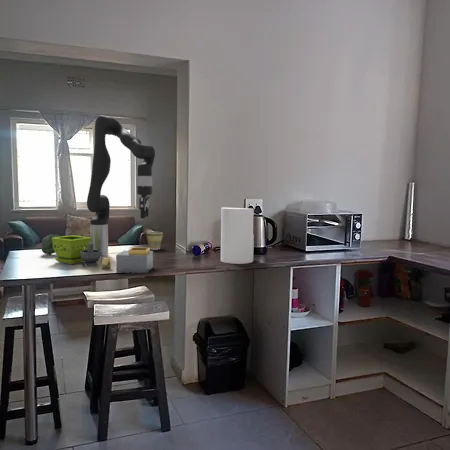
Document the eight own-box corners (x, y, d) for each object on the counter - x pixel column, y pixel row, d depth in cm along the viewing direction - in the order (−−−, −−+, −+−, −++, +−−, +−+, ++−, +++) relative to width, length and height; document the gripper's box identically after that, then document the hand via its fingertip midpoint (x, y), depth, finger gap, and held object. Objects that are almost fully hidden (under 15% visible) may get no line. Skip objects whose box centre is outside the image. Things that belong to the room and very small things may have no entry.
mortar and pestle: (80, 263, 222) (80, 239, 221) (99, 262, 225) (99, 239, 224) (80, 268, 211) (80, 243, 210) (101, 267, 214) (101, 242, 213)
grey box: (116, 272, 203) (116, 250, 202) (124, 266, 216) (124, 246, 215) (146, 273, 202) (146, 251, 201) (152, 267, 215) (152, 247, 214)
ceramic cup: (155, 250, 264) (155, 234, 263) (142, 249, 269) (142, 232, 268) (169, 248, 275) (169, 232, 274) (157, 246, 280) (157, 230, 279)
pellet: (100, 269, 209) (100, 259, 208) (103, 267, 213) (103, 257, 212) (109, 269, 209) (109, 259, 208) (111, 268, 213) (111, 257, 212)
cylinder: (247, 264, 226) (248, 209, 223) (215, 262, 232) (216, 208, 229) (257, 259, 242) (258, 207, 239) (227, 256, 248) (227, 206, 245)
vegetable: (72, 252, 243) (45, 241, 235) (60, 266, 248) (34, 256, 240) (74, 236, 252) (48, 226, 244) (63, 250, 257) (37, 240, 249)
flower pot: (71, 265, 216) (70, 240, 215) (51, 262, 223) (50, 237, 222) (92, 261, 228) (92, 236, 227) (73, 258, 235) (72, 234, 234)
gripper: (140, 184, 230) (140, 216, 232) (134, 185, 216) (134, 218, 218) (154, 185, 230) (154, 216, 232) (149, 185, 216) (149, 218, 218)
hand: (144, 217), depth 225 cm, fingers open, 8 cm apart
